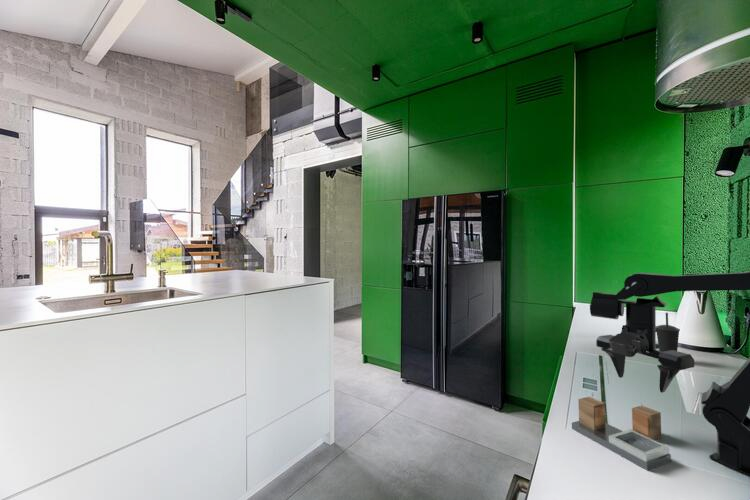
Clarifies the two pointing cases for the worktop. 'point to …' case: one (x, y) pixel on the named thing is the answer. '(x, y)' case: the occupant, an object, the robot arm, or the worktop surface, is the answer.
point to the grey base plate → (628, 445)
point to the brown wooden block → (592, 413)
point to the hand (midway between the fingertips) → (640, 384)
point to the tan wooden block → (646, 422)
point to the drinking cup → (667, 337)
